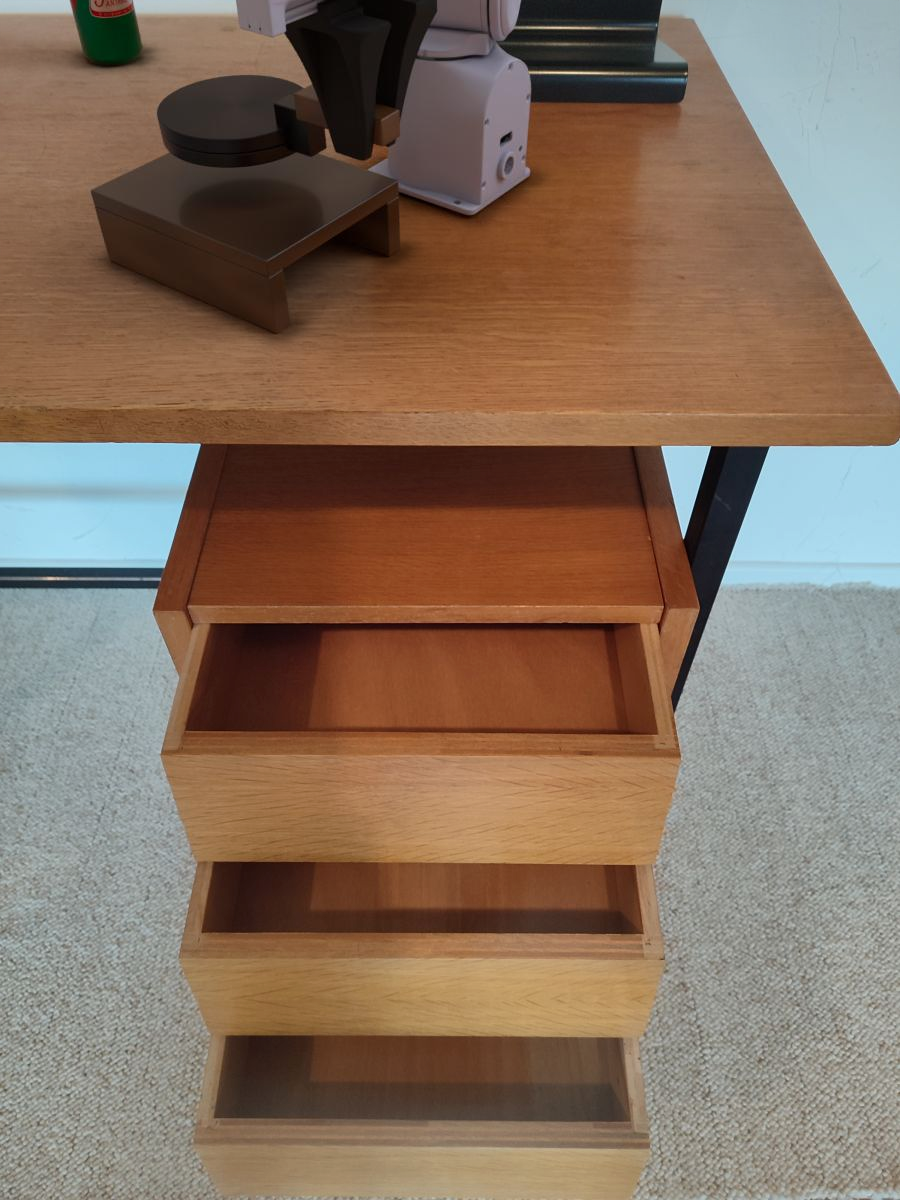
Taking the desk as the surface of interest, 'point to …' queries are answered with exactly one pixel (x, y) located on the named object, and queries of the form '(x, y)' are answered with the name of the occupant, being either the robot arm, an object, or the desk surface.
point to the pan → (251, 121)
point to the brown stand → (242, 225)
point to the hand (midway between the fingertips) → (365, 147)
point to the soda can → (107, 30)
